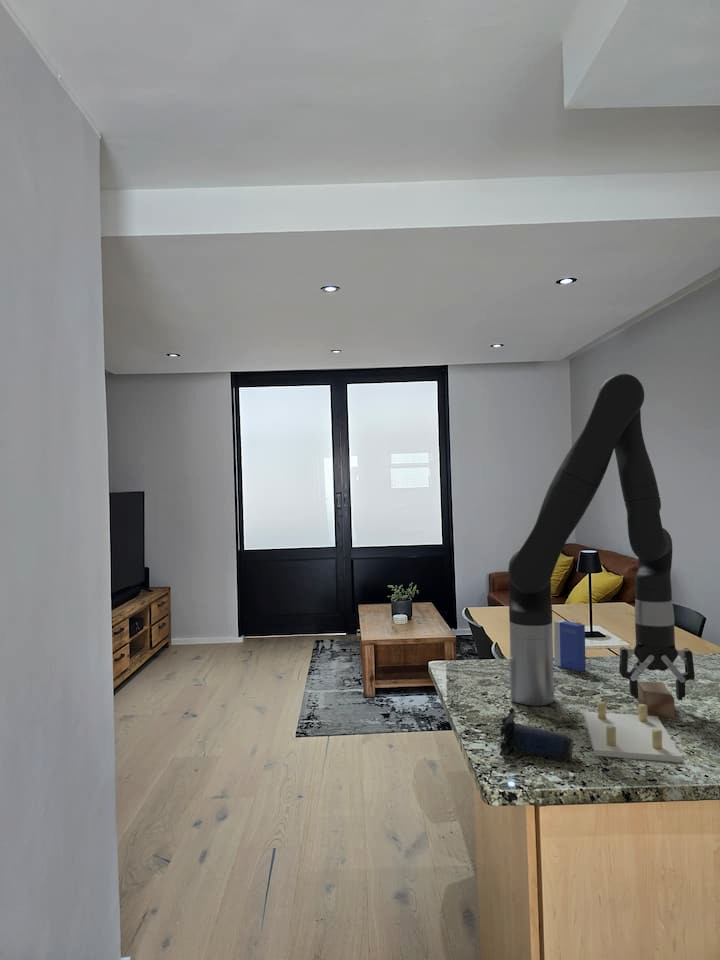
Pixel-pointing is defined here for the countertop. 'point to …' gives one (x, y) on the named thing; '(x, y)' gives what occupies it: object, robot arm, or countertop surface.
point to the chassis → (629, 735)
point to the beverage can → (534, 740)
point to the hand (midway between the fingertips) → (657, 698)
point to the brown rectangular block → (656, 700)
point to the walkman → (569, 645)
